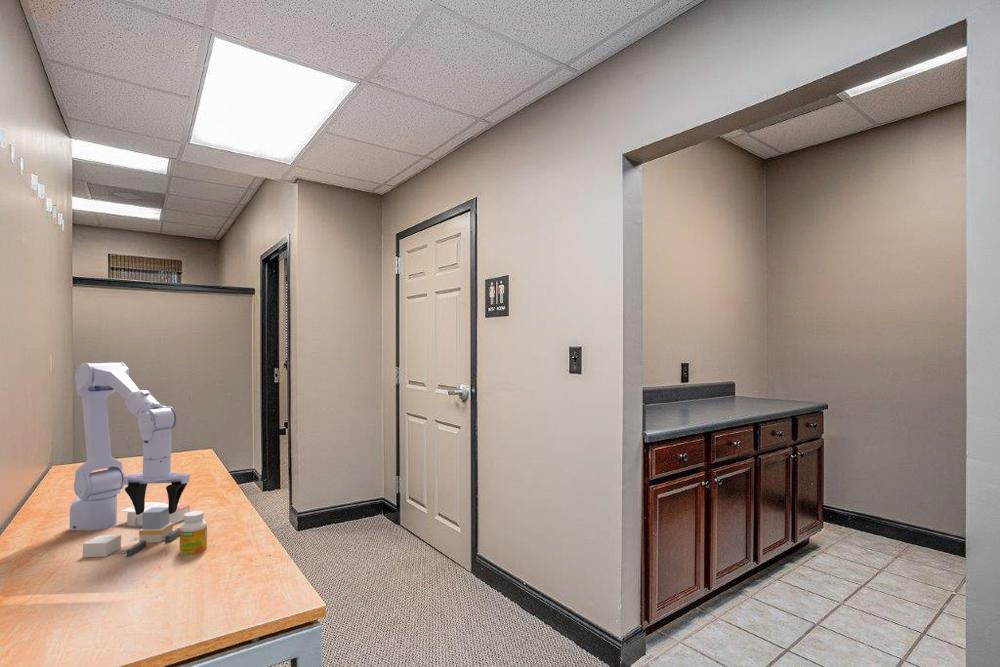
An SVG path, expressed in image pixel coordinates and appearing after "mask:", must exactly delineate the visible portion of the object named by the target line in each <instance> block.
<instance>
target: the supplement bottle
mask: <svg viewBox="0 0 1000 667" xmlns="http://www.w3.org/2000/svg"><path fill="white" fill-rule="evenodd" d="M204 515H205V514H204V511H203V510H191V511H189V512H188V513H185V514H184V520H183V523H182V524H181V525H180V526H179V528H180V536H179V554H180V555H183V556H184V555H187V556H188V555H189V556H190V555H196V554H200V553H202V552H205V551H206V550H207V548H208V547H207V546H208V543H207V540H208V539H207V538H208V534H207V533H208V523H207V521H206V520H204Z"/></svg>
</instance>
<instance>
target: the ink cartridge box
mask: <svg viewBox="0 0 1000 667" xmlns="http://www.w3.org/2000/svg"><path fill="white" fill-rule="evenodd" d="M168 504H169V502H168V503H166V502H157V501H156V502H155V501H154V502H153V501H151V502H150V501H146V502H145V508H144V512H145V511H147V510H149V509H151V508H154V507H168ZM190 507H191V506H190V505H187V504H179V503H178V506H177V510H176V512H174V513H173V514H169V523H173V525H174V524H177V523H179V522H181V521H184V514H185V513H188V512H190ZM118 512H120V513H122V512H123V513H124V512H125V513H127V516H126V517H127V521H126V525H127V526H131V527H142V528H143V513H141V514H139V515H136V512H135V508H134V505H132V506H130V507H126V508H124V509H121V510H119V511H118Z"/></svg>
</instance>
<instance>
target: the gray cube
mask: <svg viewBox="0 0 1000 667" xmlns="http://www.w3.org/2000/svg"><path fill="white" fill-rule="evenodd" d="M167 524H169V511H168V507H154V508H151V509H149V510H147V511H145V512H143V527H142V528H143V529H161V528H162V527H164V526H166V525H167Z"/></svg>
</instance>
